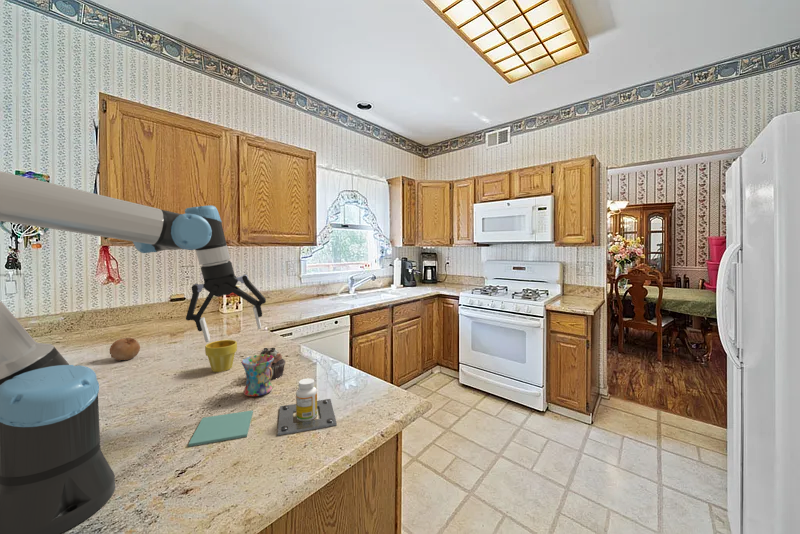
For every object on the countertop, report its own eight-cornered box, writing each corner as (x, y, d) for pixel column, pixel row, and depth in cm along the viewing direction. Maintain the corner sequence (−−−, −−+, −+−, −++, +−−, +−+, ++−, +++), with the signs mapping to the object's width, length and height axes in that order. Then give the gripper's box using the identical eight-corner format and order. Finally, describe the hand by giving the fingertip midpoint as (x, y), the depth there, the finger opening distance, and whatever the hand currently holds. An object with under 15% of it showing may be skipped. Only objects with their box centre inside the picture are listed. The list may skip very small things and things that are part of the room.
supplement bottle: (307, 409, 88) (307, 375, 87) (321, 414, 85) (321, 379, 85) (291, 418, 83) (291, 382, 83) (306, 424, 80) (305, 387, 80)
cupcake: (285, 379, 109) (285, 350, 109) (255, 383, 105) (254, 354, 105) (285, 369, 118) (284, 343, 117) (256, 373, 114) (256, 346, 114)
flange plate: (336, 425, 80) (336, 421, 80) (277, 435, 75) (277, 432, 75) (330, 400, 93) (330, 397, 93) (280, 408, 88) (280, 405, 88)
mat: (246, 436, 75) (246, 434, 75) (188, 446, 71) (188, 444, 71) (252, 412, 86) (252, 410, 86) (202, 419, 82) (202, 417, 82)
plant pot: (224, 375, 112) (223, 348, 112) (199, 373, 114) (198, 347, 113) (243, 365, 123) (242, 340, 122) (219, 363, 124) (219, 339, 124)
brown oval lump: (136, 365, 130) (147, 344, 130) (107, 366, 122) (118, 343, 122) (131, 353, 135) (141, 332, 135) (102, 353, 128) (113, 331, 127)
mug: (236, 394, 97) (235, 360, 97) (263, 383, 105) (262, 352, 105) (258, 404, 91) (257, 368, 90) (285, 392, 98) (285, 359, 98)
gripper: (264, 252, 94) (279, 318, 99) (166, 269, 85) (188, 340, 90) (263, 256, 87) (280, 326, 92) (157, 274, 78) (181, 351, 83)
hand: (234, 333), depth 91 cm, fingers open, 13 cm apart
